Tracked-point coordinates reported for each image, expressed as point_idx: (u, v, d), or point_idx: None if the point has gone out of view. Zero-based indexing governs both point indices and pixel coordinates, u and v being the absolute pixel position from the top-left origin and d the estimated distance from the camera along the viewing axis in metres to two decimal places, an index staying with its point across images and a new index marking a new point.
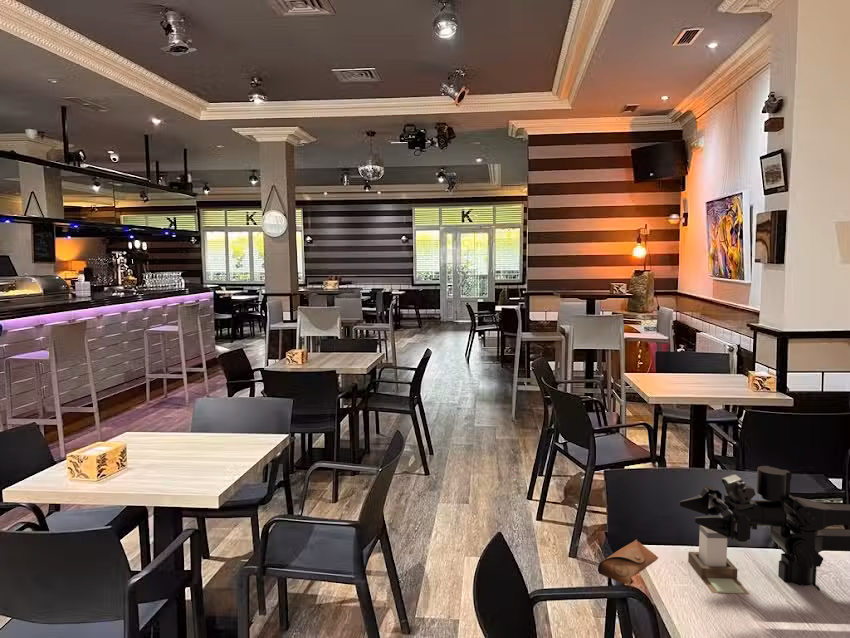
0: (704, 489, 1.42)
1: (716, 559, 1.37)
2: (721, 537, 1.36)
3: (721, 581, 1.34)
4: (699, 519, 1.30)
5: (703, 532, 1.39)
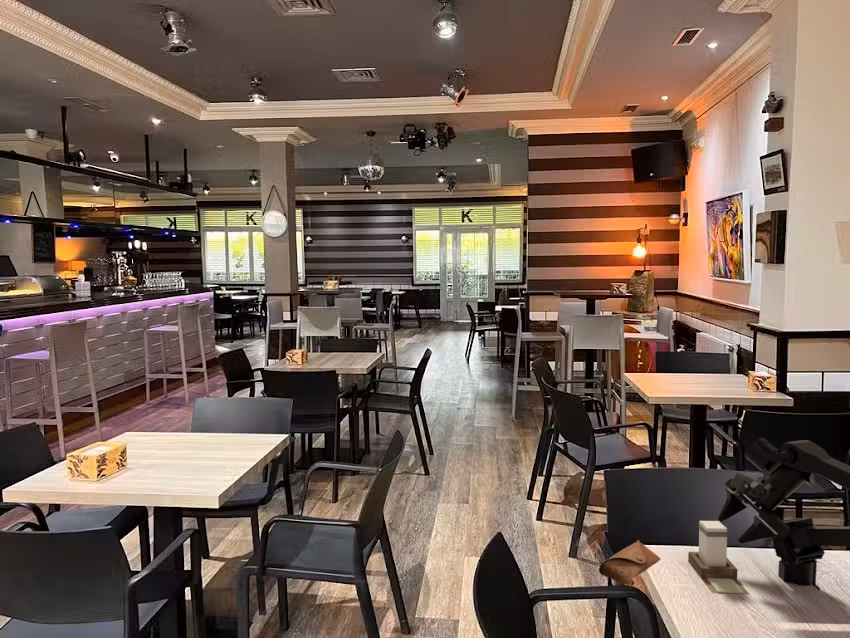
0: (727, 490, 1.45)
1: (716, 558, 1.37)
2: (721, 536, 1.37)
3: (721, 581, 1.34)
4: (742, 539, 1.34)
5: (703, 531, 1.39)
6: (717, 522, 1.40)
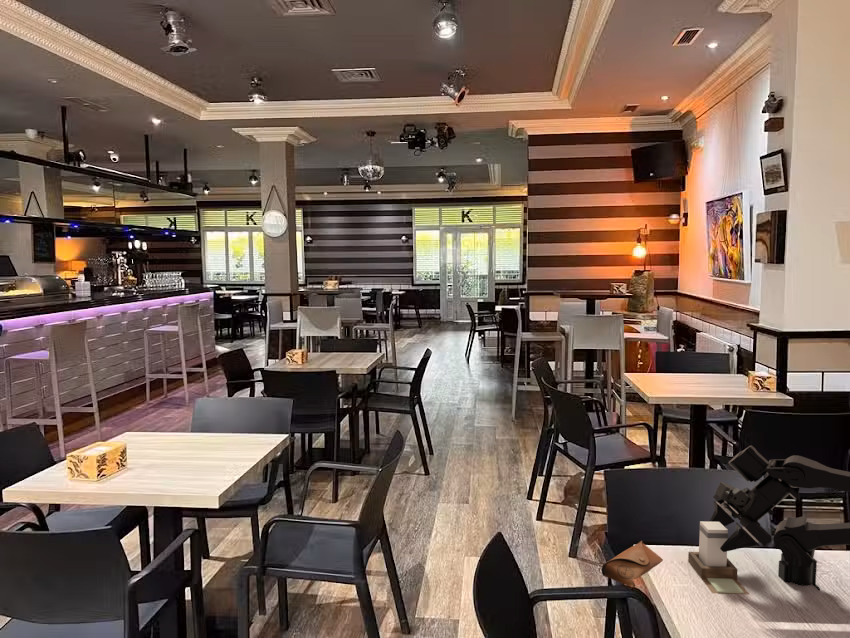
0: (714, 503, 1.45)
1: (716, 559, 1.37)
2: (722, 537, 1.36)
3: (721, 581, 1.34)
4: (724, 547, 1.34)
5: (703, 532, 1.39)
6: (718, 523, 1.40)
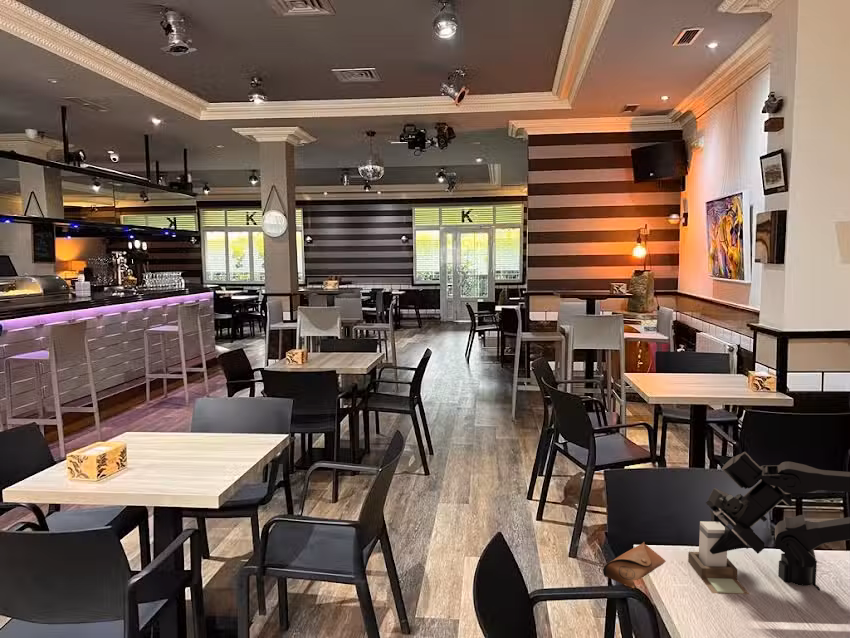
0: (711, 512, 1.43)
1: (716, 559, 1.37)
2: None
3: (721, 581, 1.34)
4: (713, 549, 1.36)
5: (703, 532, 1.39)
6: (718, 523, 1.40)
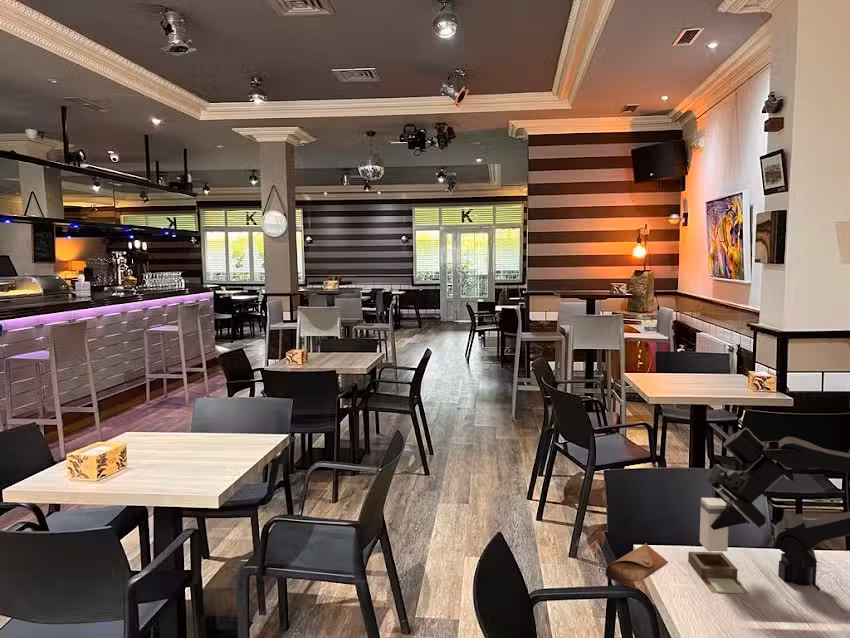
0: (712, 489, 1.42)
1: (717, 535, 1.36)
2: None
3: (721, 581, 1.34)
4: (714, 525, 1.35)
5: (704, 508, 1.38)
6: (719, 499, 1.39)
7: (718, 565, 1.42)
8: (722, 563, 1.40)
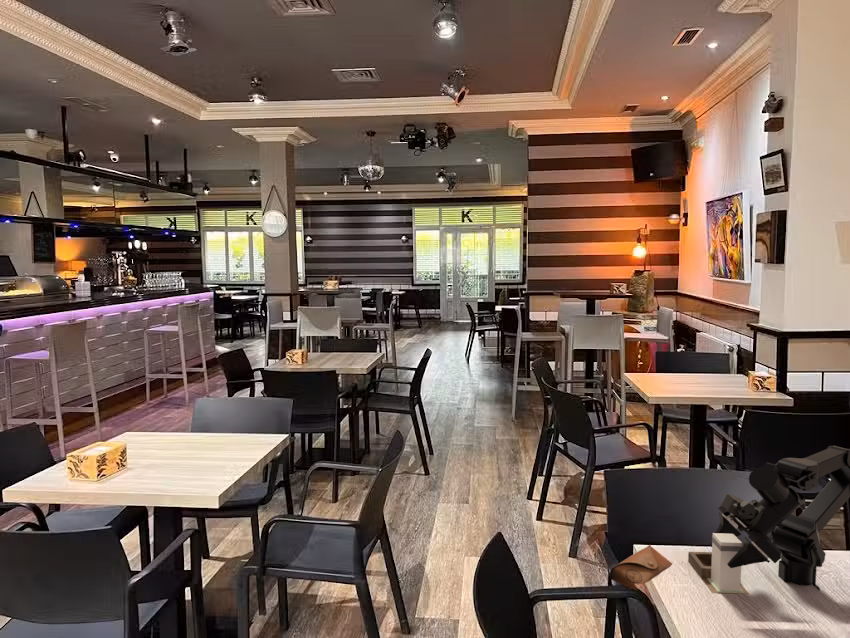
0: (719, 515, 1.38)
1: (730, 573, 1.30)
2: (736, 550, 1.29)
3: None
4: (731, 563, 1.27)
5: (716, 545, 1.32)
6: (732, 535, 1.33)
7: None
8: None
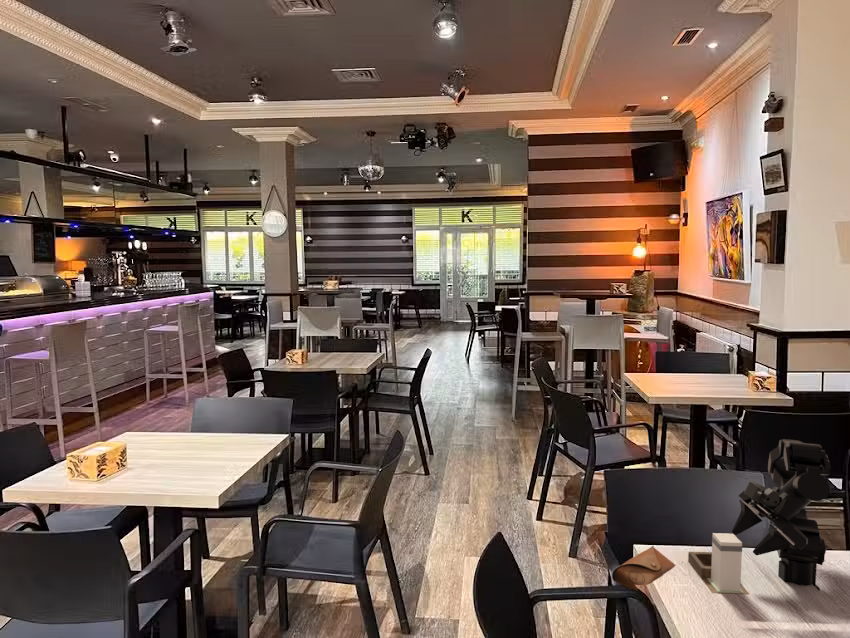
0: (740, 502, 1.39)
1: (730, 573, 1.30)
2: (736, 550, 1.29)
3: None
4: (757, 551, 1.28)
5: (716, 545, 1.32)
6: (732, 535, 1.33)
7: None
8: None
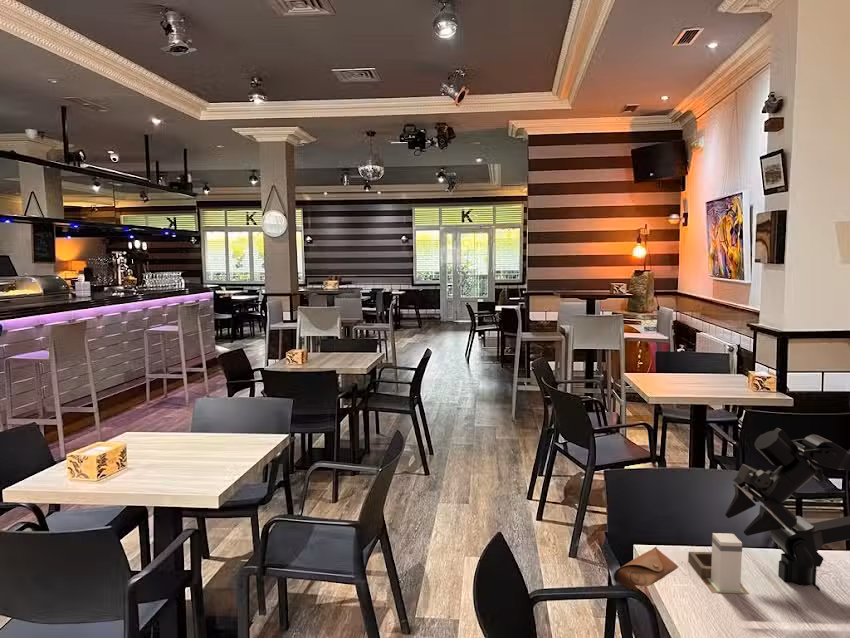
0: (735, 486, 1.41)
1: (730, 573, 1.30)
2: (736, 550, 1.29)
3: None
4: (747, 531, 1.30)
5: (716, 545, 1.32)
6: (732, 535, 1.33)
7: None
8: None
